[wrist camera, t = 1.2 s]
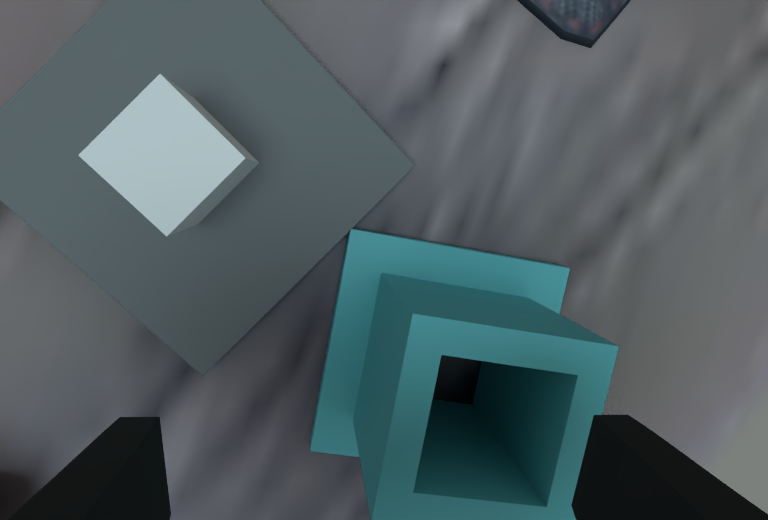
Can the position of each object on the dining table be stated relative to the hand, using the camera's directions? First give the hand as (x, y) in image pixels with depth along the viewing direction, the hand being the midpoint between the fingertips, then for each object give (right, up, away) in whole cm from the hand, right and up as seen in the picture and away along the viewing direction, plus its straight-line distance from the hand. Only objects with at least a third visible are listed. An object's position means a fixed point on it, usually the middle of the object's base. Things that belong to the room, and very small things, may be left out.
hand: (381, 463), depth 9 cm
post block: (-6, +7, +9) cm, 13 cm away
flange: (+2, 0, +11) cm, 12 cm away
